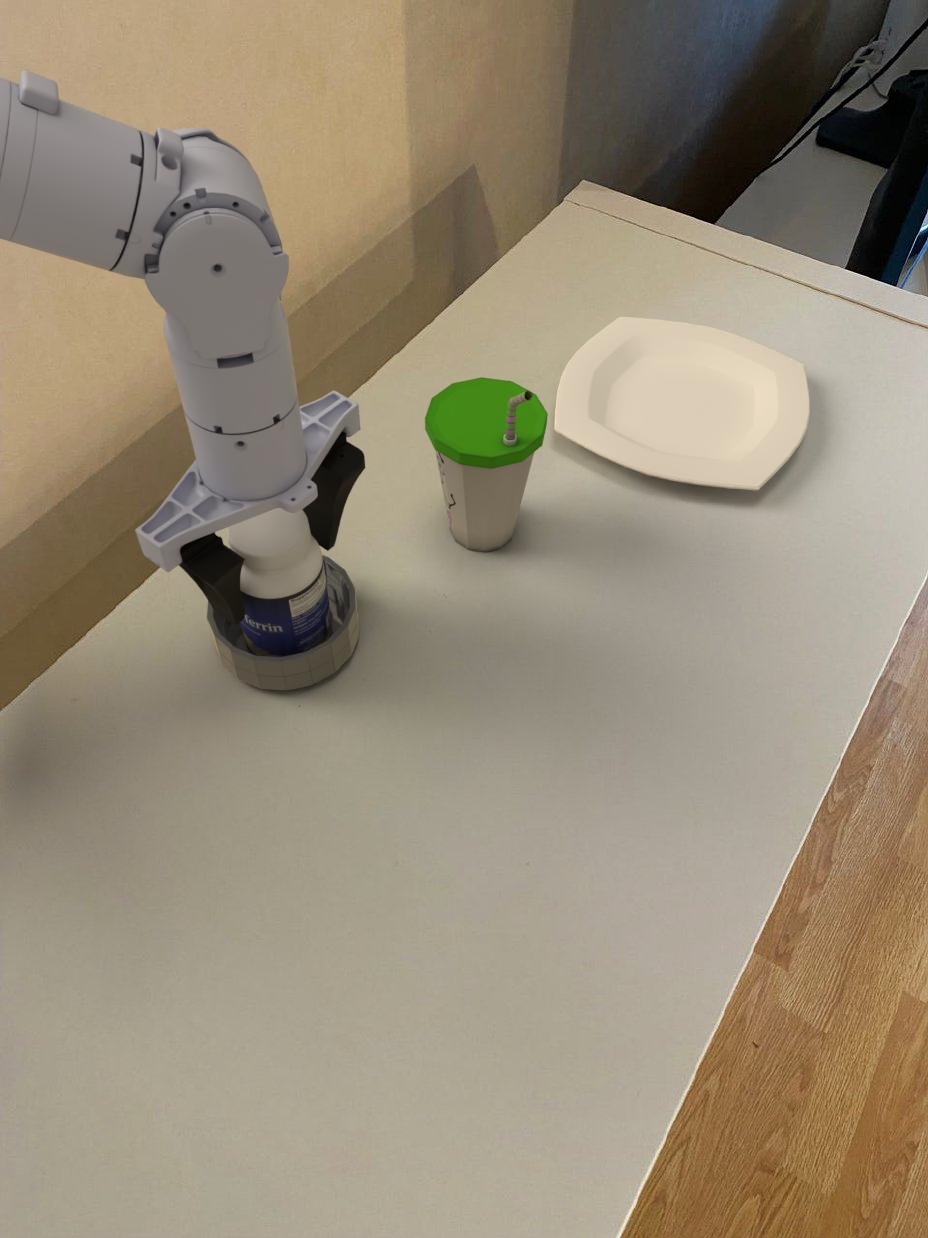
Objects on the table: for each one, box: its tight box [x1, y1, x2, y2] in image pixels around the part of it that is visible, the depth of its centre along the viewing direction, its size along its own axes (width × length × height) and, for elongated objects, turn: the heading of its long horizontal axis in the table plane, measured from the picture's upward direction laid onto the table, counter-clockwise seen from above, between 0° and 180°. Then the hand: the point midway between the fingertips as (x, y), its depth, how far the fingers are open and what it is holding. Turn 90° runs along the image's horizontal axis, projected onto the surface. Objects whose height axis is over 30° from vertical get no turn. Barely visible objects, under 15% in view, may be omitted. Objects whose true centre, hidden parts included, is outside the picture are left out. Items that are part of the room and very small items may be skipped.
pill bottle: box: [226, 508, 332, 657], centre depth 62 cm, size 6×6×10 cm
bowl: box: [206, 554, 360, 691], centre depth 65 cm, size 9×9×4 cm
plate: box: [553, 316, 811, 491], centre depth 80 cm, size 19×19×2 cm
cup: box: [424, 376, 549, 553], centre depth 67 cm, size 8×8×15 cm
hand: (275, 576), depth 62 cm, fingers open, 7 cm apart
